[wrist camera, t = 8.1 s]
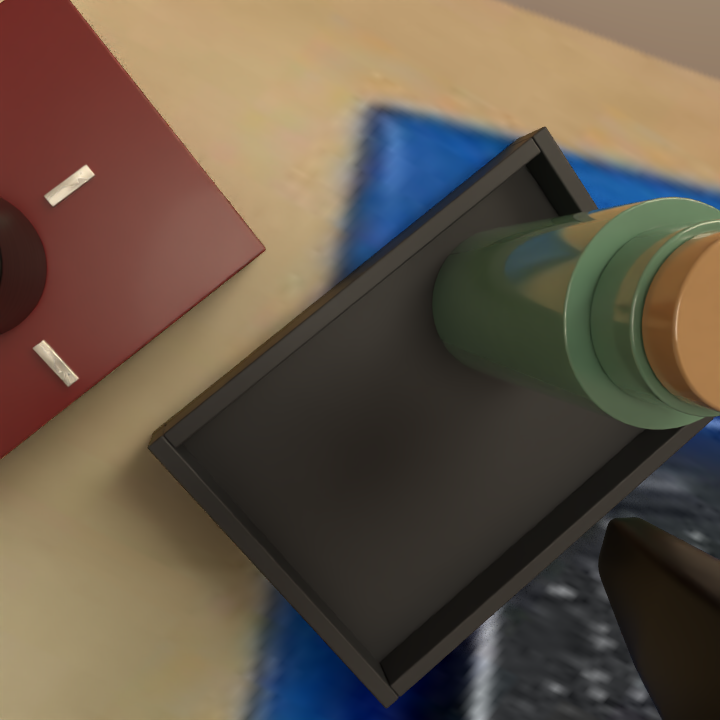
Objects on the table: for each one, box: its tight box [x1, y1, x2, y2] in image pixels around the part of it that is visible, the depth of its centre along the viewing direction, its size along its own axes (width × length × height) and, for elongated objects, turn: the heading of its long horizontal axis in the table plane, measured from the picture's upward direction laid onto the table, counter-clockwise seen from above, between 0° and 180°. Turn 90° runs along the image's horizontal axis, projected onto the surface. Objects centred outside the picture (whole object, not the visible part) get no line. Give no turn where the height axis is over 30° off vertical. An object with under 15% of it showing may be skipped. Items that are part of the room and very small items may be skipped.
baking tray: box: [148, 127, 716, 708], centre depth 23 cm, size 16×12×2 cm
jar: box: [432, 197, 720, 430], centre depth 18 cm, size 5×5×12 cm
